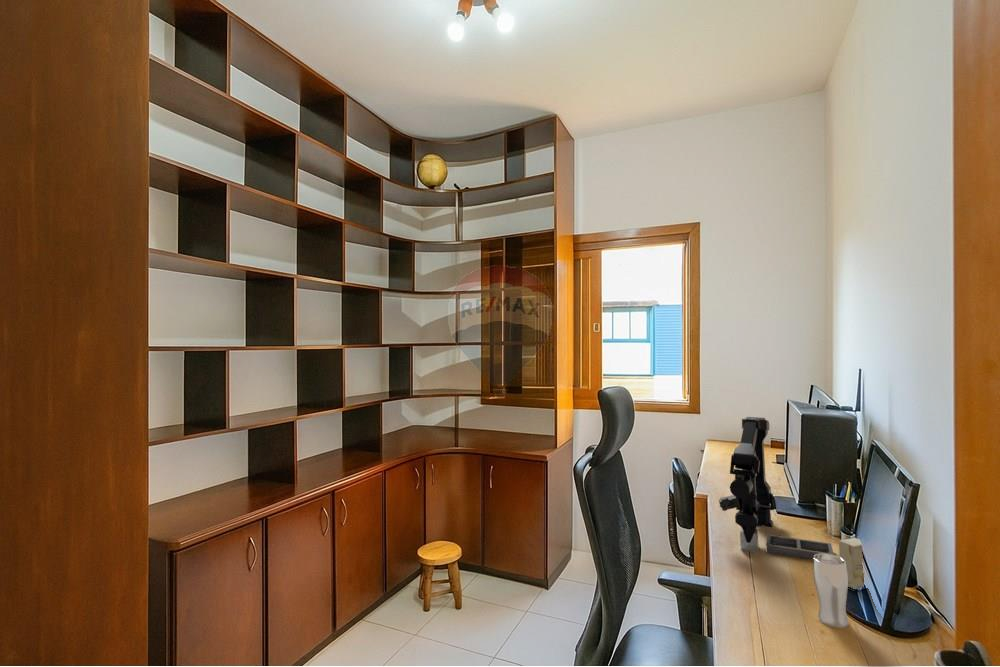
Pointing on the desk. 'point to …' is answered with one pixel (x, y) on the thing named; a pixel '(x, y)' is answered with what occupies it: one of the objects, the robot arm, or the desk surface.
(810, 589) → the desk surface
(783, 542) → the two-cubby grey shelf
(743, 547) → the knobbed drawer box
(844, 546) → the skincare box
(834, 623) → the beer glass
